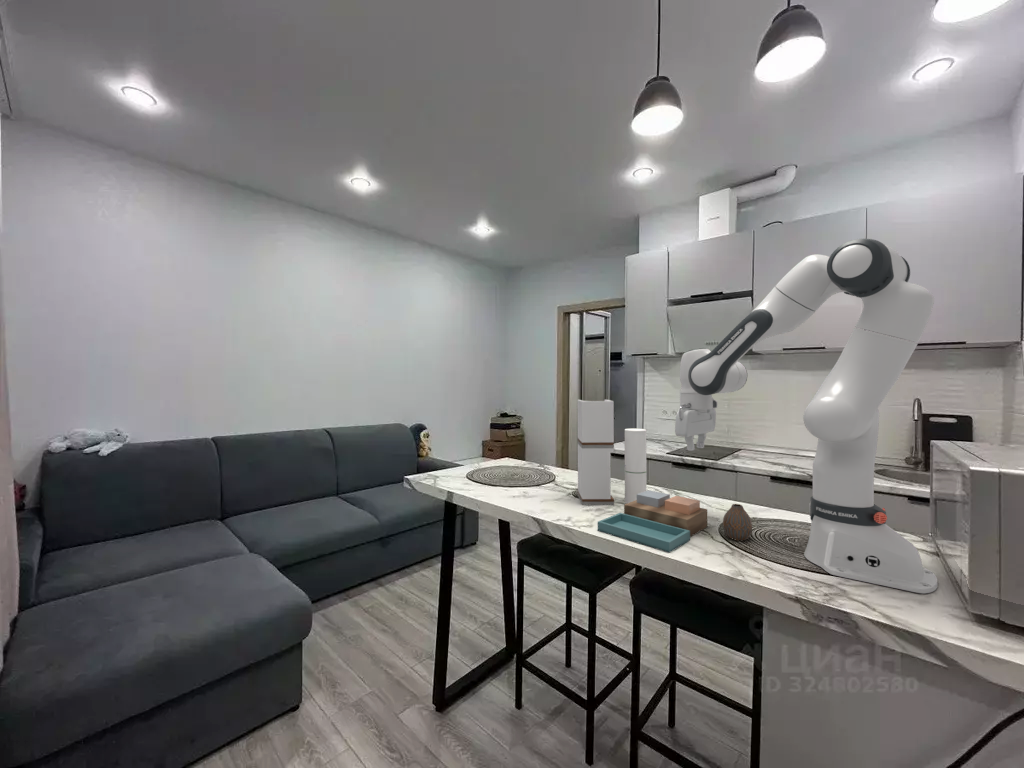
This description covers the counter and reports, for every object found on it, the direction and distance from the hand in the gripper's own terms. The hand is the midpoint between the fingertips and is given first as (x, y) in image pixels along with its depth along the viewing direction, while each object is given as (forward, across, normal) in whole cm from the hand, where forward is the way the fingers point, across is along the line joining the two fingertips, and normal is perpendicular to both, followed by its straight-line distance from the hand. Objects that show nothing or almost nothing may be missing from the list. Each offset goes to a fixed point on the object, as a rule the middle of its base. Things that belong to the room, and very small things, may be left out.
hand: (695, 449), depth 127 cm
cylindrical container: (+21, +3, +22) cm, 31 cm away
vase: (+21, -7, -14) cm, 26 cm away
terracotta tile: (+16, -9, 0) cm, 19 cm away
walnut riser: (+21, -10, +4) cm, 24 cm away
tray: (+21, -23, +4) cm, 32 cm away
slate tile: (+16, -9, +9) cm, 21 cm away
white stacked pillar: (+21, -5, +33) cm, 40 cm away
